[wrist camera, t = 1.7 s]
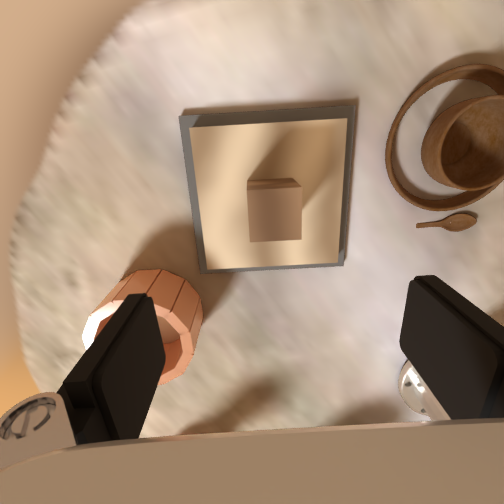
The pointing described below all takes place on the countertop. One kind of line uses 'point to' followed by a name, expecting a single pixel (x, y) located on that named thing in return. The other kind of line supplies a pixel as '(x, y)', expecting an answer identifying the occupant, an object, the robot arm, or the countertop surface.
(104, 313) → the bowl
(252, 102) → the countertop surface
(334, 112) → the tray
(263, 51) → the countertop surface
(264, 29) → the countertop surface
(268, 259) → the lid
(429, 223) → the place setting
